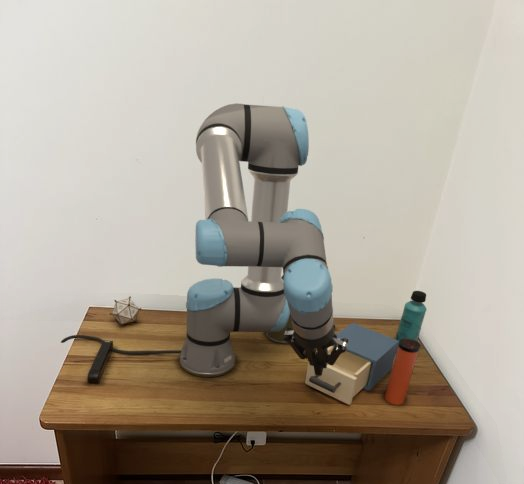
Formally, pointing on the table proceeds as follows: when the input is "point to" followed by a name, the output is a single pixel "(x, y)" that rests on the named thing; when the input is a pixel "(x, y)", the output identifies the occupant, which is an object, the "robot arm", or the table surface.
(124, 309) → the game die
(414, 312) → the beverage bottle
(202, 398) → the table surface
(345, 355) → the drawer
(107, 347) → the black long bar
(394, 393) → the orange cylinder
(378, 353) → the desk cabinet
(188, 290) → the robot arm
